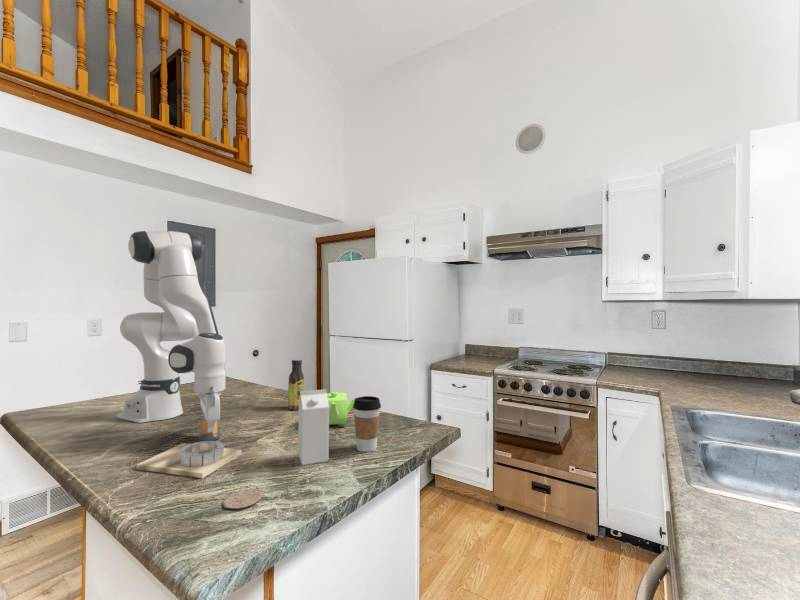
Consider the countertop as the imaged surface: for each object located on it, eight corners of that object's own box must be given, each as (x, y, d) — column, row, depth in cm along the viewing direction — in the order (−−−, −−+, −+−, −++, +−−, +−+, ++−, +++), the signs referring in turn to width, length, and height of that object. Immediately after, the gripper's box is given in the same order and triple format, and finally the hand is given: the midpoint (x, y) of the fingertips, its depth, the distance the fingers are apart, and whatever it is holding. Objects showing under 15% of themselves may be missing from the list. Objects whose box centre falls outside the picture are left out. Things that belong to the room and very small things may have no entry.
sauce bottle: (299, 411, 149) (299, 361, 149) (284, 410, 150) (285, 360, 150) (306, 406, 155) (307, 358, 156) (292, 405, 157) (293, 358, 157)
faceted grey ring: (167, 464, 97) (167, 454, 97) (199, 448, 108) (199, 439, 108) (203, 468, 95) (203, 458, 95) (231, 452, 105) (231, 443, 105)
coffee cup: (347, 451, 110) (348, 399, 110) (360, 441, 118) (360, 393, 118) (373, 455, 107) (374, 402, 107) (384, 444, 115) (385, 395, 115)
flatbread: (243, 489, 87) (243, 485, 87) (268, 496, 84) (268, 491, 84) (214, 507, 80) (214, 502, 80) (241, 515, 77) (241, 510, 77)
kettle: (333, 433, 124) (333, 399, 124) (304, 425, 132) (304, 393, 132) (362, 421, 137) (362, 390, 137) (333, 415, 145) (334, 385, 145)
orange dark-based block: (194, 442, 116) (194, 422, 116) (208, 435, 122) (208, 416, 122) (210, 443, 114) (211, 424, 114) (224, 437, 120) (224, 418, 120)
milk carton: (298, 455, 106) (298, 388, 106) (323, 451, 109) (323, 386, 109) (302, 465, 100) (302, 394, 100) (328, 461, 102) (329, 392, 103)
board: (136, 469, 97) (136, 464, 97) (182, 447, 111) (182, 443, 111) (202, 478, 92) (202, 473, 92) (241, 454, 107) (241, 450, 107)
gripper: (225, 390, 111) (225, 437, 111) (217, 378, 128) (216, 418, 128) (201, 393, 108) (201, 441, 108) (196, 380, 125) (195, 421, 125)
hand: (209, 428), depth 118 cm, fingers closed on orange dark-based block, 4 cm apart
